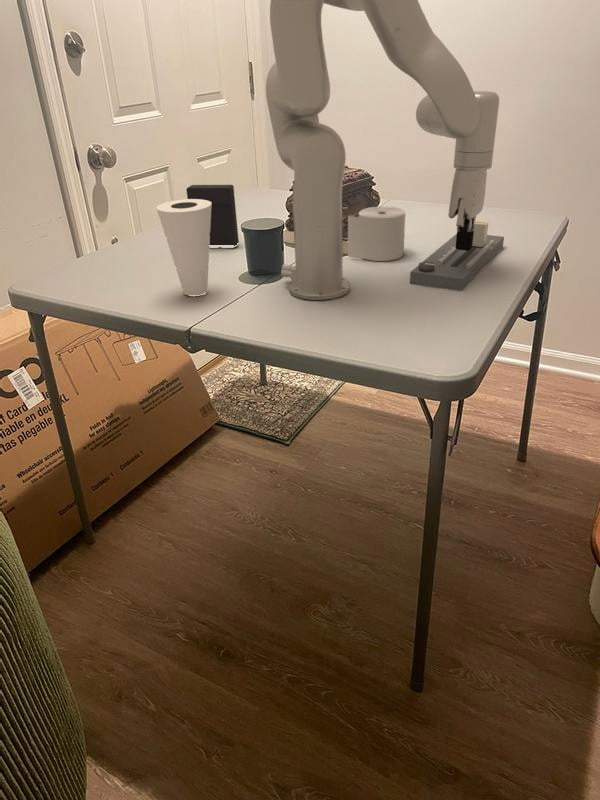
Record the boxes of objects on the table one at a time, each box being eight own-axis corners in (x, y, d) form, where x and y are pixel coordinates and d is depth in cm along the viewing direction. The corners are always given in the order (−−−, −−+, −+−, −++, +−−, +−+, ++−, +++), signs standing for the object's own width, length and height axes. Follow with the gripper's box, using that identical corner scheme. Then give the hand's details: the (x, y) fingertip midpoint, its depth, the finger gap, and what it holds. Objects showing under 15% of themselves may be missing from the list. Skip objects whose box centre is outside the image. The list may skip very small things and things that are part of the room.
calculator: (239, 244, 159) (234, 183, 152) (235, 249, 156) (229, 187, 148) (199, 243, 161) (191, 184, 154) (193, 248, 158) (185, 187, 150)
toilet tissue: (412, 253, 147) (414, 210, 142) (383, 266, 140) (384, 221, 135) (376, 245, 154) (376, 204, 149) (345, 258, 146) (345, 215, 141)
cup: (231, 291, 130) (222, 203, 121) (190, 306, 124) (177, 214, 114) (200, 280, 137) (189, 196, 127) (160, 294, 130) (145, 207, 121)
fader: (465, 245, 142) (467, 222, 139) (468, 242, 143) (470, 219, 141) (482, 247, 140) (485, 224, 137) (486, 244, 142) (488, 221, 139)
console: (409, 283, 130) (410, 265, 128) (457, 242, 153) (459, 226, 151) (461, 290, 125) (463, 272, 123) (502, 247, 148) (504, 231, 146)
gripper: (465, 153, 133) (457, 238, 142) (443, 164, 122) (435, 256, 131) (501, 155, 129) (490, 242, 139) (481, 167, 118) (470, 261, 128)
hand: (463, 248), depth 135 cm, fingers closed
